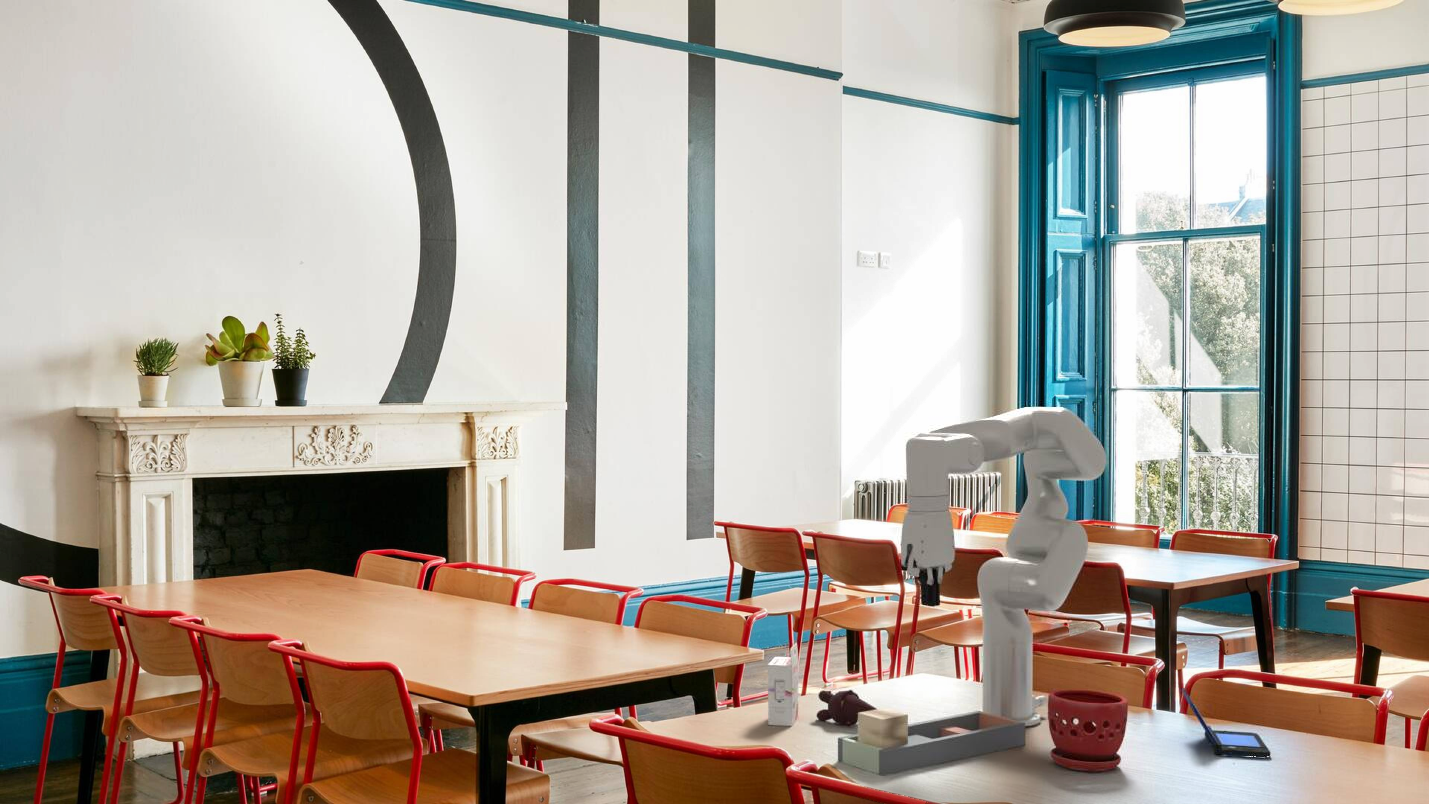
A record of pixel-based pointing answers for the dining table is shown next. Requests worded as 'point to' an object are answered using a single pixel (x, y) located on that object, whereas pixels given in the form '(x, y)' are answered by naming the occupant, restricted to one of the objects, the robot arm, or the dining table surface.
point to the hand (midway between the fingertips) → (930, 605)
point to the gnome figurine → (842, 707)
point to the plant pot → (1087, 728)
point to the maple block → (883, 728)
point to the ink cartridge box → (783, 689)
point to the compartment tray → (935, 743)
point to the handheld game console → (1231, 739)
